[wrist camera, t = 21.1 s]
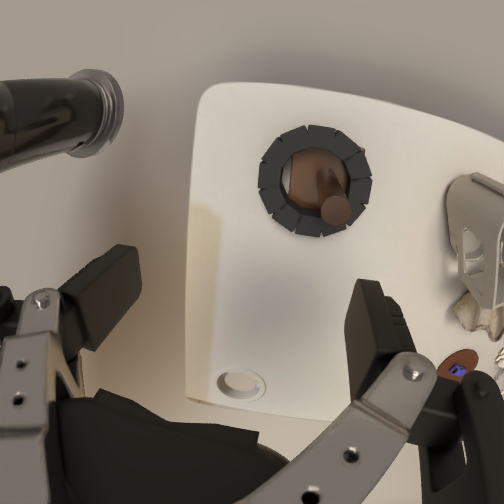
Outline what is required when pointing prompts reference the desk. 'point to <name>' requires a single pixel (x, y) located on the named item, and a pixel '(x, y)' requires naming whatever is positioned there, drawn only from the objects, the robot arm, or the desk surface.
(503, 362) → the dragon
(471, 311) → the seashell
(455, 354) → the round brown coaster
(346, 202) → the rack
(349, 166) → the dark grey segmented ring
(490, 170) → the desk surface
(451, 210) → the cable organizer
